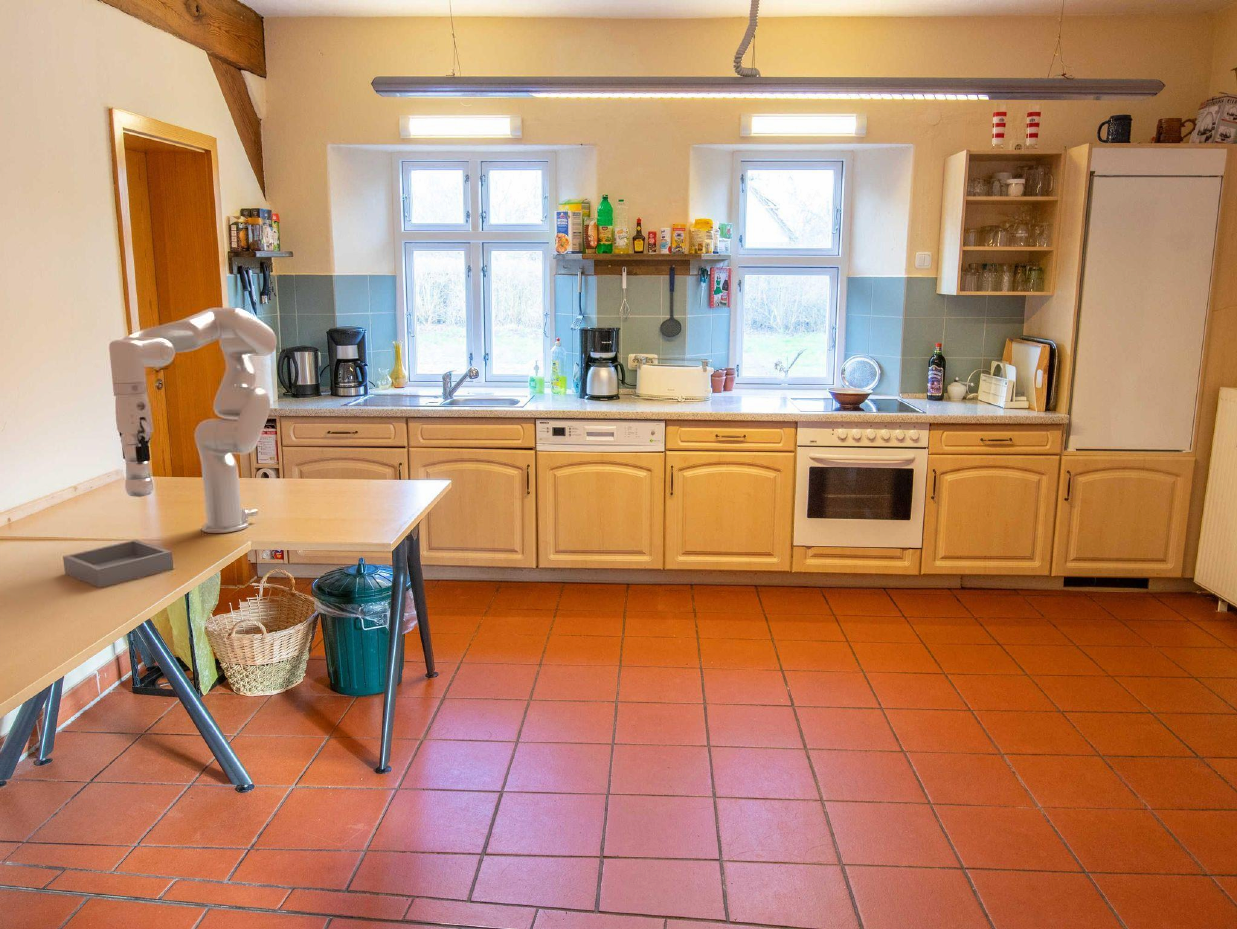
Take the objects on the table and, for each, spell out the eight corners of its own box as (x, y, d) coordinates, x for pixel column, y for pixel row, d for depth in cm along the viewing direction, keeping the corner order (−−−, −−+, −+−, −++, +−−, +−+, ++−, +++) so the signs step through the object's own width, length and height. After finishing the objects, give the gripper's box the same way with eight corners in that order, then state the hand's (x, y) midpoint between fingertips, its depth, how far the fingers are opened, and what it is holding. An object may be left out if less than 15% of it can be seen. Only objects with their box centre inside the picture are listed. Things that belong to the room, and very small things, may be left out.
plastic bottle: (126, 500, 245) (118, 421, 241) (125, 494, 250) (118, 417, 247) (154, 497, 247) (147, 419, 244) (153, 492, 253) (146, 416, 250)
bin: (137, 556, 254) (135, 539, 253) (173, 568, 243) (171, 551, 242) (65, 573, 240) (62, 556, 239) (99, 588, 229) (97, 569, 228)
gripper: (162, 390, 242) (168, 461, 245) (128, 385, 252) (134, 454, 255) (131, 393, 236) (138, 466, 239) (98, 388, 246) (105, 458, 249)
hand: (136, 459), depth 247 cm, fingers closed on plastic bottle, 6 cm apart
